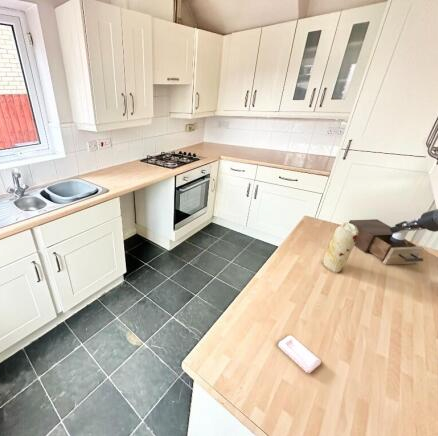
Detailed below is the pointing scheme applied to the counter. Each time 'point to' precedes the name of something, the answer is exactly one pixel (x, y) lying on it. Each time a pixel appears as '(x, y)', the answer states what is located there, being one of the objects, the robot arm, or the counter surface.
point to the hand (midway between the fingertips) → (396, 230)
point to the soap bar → (299, 354)
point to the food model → (340, 246)
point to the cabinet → (369, 232)
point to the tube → (399, 236)
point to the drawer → (395, 250)
